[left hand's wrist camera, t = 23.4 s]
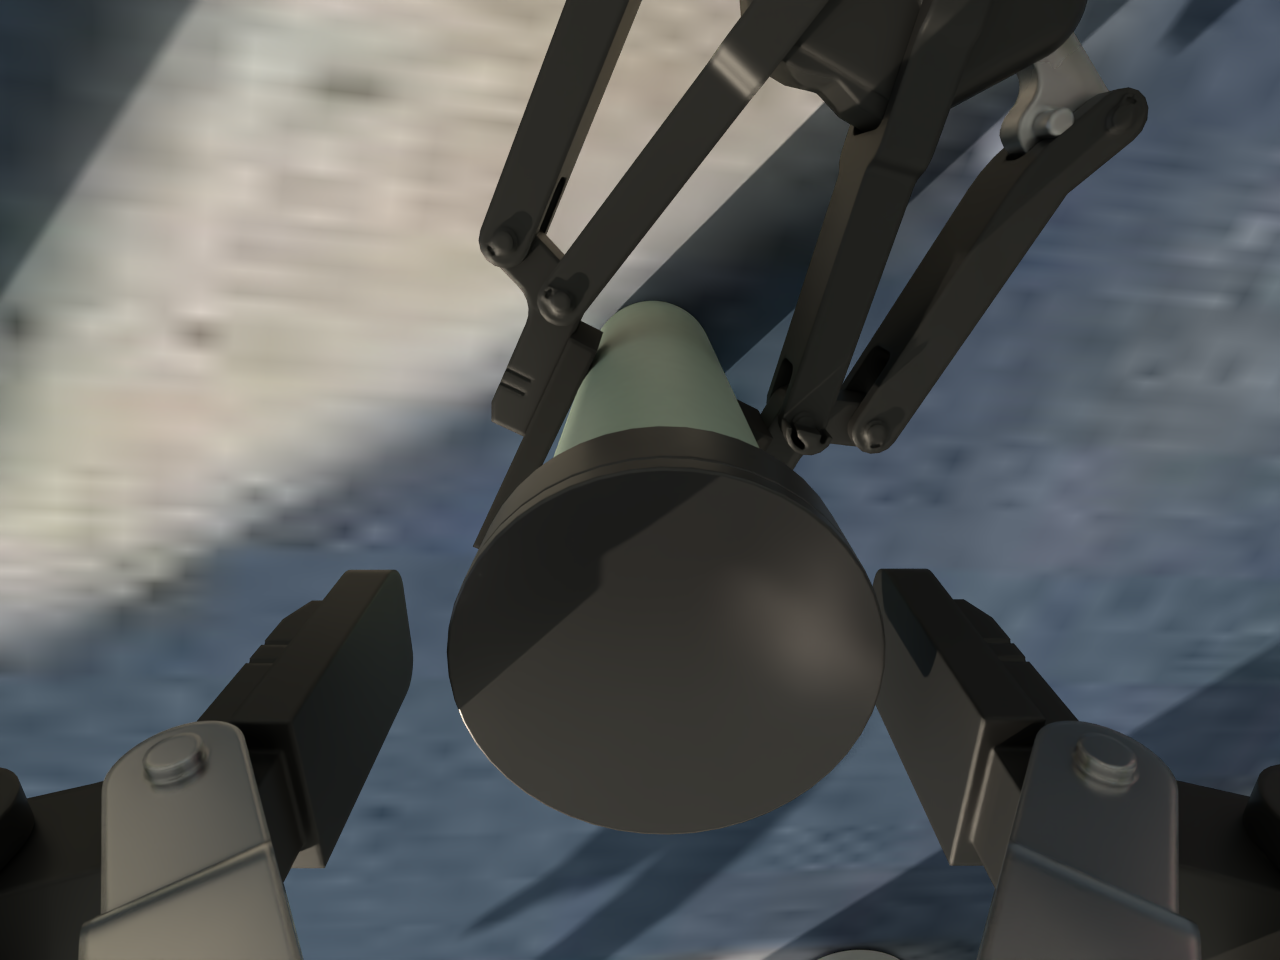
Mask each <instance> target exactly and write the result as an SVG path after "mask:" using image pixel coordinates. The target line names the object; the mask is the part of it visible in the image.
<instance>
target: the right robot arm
mask: <svg viewBox="0 0 1280 960" xmlns="http://www.w3.org/2000/svg"><path fill="white" fill-rule="evenodd" d="M641 1H642V0H566V2H565V5H564V8H563V10H562V13H561V16H560V19H559V21H558V24H557V27H556V29H555V32H554V35H553V37H552V40H551V43H550V45H549V48H548V51H547V53H546V56H545V59H544V61H543V64H542V67H541V69H540V72H539V75H538V77H537V80H536V83H535V85H534V88H533V91H532V93H531V96H530V99H529V101H528V104H527V107H526V110H525V112H524V115H523V118H522V120H521V123H520V126H519V128H518V131H517V134H516V136H515V139H514V142H513V144H512V147H511V150H510V152H509V155H508V158H507V160H506V163H505V166H504V168H503V171H502V174H501V176H500V179H499V182H498V184H497V187H496V190H495V192H494V195H493V198H492V201H491V203H490V206H489V209H488V211H487V214H486V217H485V219H484V222H483V225H482V227H481V230H480V236H479V244H480V249H481V252H482V253H483V255H484V256H485V258H486V259H487V260H488V261H489V262H491V263H492V264H493V265H495V266H498V267H500V268H501V269H502V270H503V271H504V272H505V273H506V274H507V275H508V276H509V277H510V278H511V279H512V280H513V281H514V282H515V283H516V284H517V285H518V286H519V288H520V289H521V290H522V292H523V293H524V295H525V297H526V299H527V303H528V308H529V311H528V319H527V322H526V325H525V327H524V329H523V332H522V334H521V336H520V338H519V341H518V343H517V345H516V348H515V350H514V352H513V354H512V357H511V359H510V361H509V364H508V366H507V369H506V371H505V373H504V375H503V377H502V380H501V382H500V384H499V386H498V389H497V391H496V393H495V396H494V398H493V400H492V422H494V423H496V424H498V425H500V426H503V427H505V428H507V429H509V430H511V431H513V432H515V433H517V434H520V435H522V436H524V437H523V440H522V442H521V444H520V446H519V448H518V450H517V453H516V455H515V457H514V459H513V461H512V463H511V465H510V468H509V470H508V472H507V474H506V476H505V478H504V481H503V483H502V485H501V487H500V489H499V491H498V493H497V496H496V498H495V500H494V502H493V504H492V506H491V509H490V511H489V513H488V515H487V517H486V519H485V521H484V524H483V526H482V528H481V530H480V532H479V534H478V537H477V539H476V541H475V543H474V545H473V547H475V548H478V549H479V548H480V546H481V544H482V542H483V540H484V537H485V535H486V533H487V531H488V529H489V527H490V525H491V523H492V522H493V520H494V518H495V517H496V515H497V513H498V512H499V510H500V508H501V507H502V505H503V504H504V503H505V501H506V500H507V499H508V498H509V497H510V495H511V494H512V493H513V492H514V490H515V489H516V488H517V487H518V486H519V485H520V484H521V483H522V482H523V481H524V480H525V479H526V478H528V477H529V476H530V475H531V474H532V473H533V472H534V471H535V470H536V469H538V468H539V467H541V466H542V465H543V462H544V460H545V458H546V456H547V454H548V452H549V450H550V448H551V446H552V444H553V442H554V440H555V438H556V436H557V433H558V431H559V429H560V427H561V425H562V423H563V421H564V419H565V417H566V415H567V413H568V411H569V409H570V406H571V404H572V402H573V400H574V398H575V396H576V394H577V392H578V389H579V387H580V386H581V384H582V382H583V380H584V377H585V375H586V373H587V371H588V369H589V367H590V365H591V363H592V361H593V359H594V357H595V355H596V353H597V350H598V347H599V344H600V341H601V338H602V335H603V332H602V331H600V330H598V329H596V328H594V327H592V326H590V325H588V324H586V323H584V322H582V321H581V319H582V317H583V315H584V313H585V311H586V310H587V309H588V308H589V306H590V305H591V304H592V302H593V301H594V300H595V299H596V297H597V296H598V295H599V293H600V292H601V291H602V290H603V288H604V287H605V286H606V284H607V283H608V282H609V281H610V279H611V278H612V277H613V276H614V274H615V273H616V272H617V270H618V269H619V268H620V267H621V265H622V264H623V263H624V261H625V260H626V259H627V258H628V256H629V255H630V254H631V252H632V251H633V250H634V249H635V247H636V246H637V245H638V243H639V242H640V241H641V240H642V238H643V237H644V236H645V234H646V233H647V232H648V231H649V229H650V228H651V227H652V225H653V224H654V223H655V222H656V220H657V219H658V218H659V217H660V215H661V214H662V213H663V211H664V210H665V209H666V208H667V206H668V205H669V204H670V202H671V201H672V200H673V199H674V197H675V196H676V195H677V193H678V192H679V191H680V190H681V188H682V187H683V186H684V184H685V183H686V182H687V181H688V179H689V178H690V177H691V175H692V174H693V173H694V172H695V170H696V169H697V168H698V166H699V165H700V164H701V163H702V161H703V160H704V159H705V157H706V156H707V155H708V154H709V152H710V151H711V150H712V149H713V147H714V146H715V145H716V143H717V142H718V141H719V140H720V138H721V137H722V136H723V134H724V133H725V132H726V131H727V129H728V128H729V127H730V125H731V124H732V123H733V122H734V120H735V119H736V118H737V116H738V115H739V114H740V113H741V111H742V110H743V109H744V107H745V106H746V105H747V104H748V102H749V101H750V100H751V99H752V97H753V96H754V95H755V94H756V93H757V91H758V90H759V89H760V88H761V86H762V85H763V84H764V83H765V81H766V80H767V79H768V78H769V76H770V77H771V78H773V79H775V80H776V81H778V82H780V83H782V84H783V85H785V86H789V87H794V88H798V89H802V90H806V91H811V92H814V93H816V94H818V95H819V96H820V97H821V98H822V100H823V101H824V102H825V103H826V104H827V105H828V106H829V107H830V108H831V109H832V110H833V112H834V113H835V114H836V115H837V116H838V117H839V118H841V119H842V120H844V121H846V122H847V123H849V124H850V127H849V130H848V133H847V136H846V139H845V143H844V146H843V149H842V152H841V156H840V161H839V175H838V178H837V182H836V185H835V188H834V191H833V194H832V197H831V200H830V203H829V206H828V209H827V212H826V216H825V219H824V222H823V225H822V228H821V231H820V234H819V237H818V240H817V243H816V246H815V249H814V253H813V256H812V259H811V262H810V265H809V268H808V271H807V274H806V277H805V280H804V283H803V287H802V290H801V293H800V296H799V299H798V302H797V305H796V308H795V311H794V314H793V317H792V320H791V324H790V327H789V330H788V333H787V336H786V339H785V342H784V345H783V348H782V351H781V354H780V358H779V361H778V364H777V367H776V370H775V373H774V376H773V379H772V382H771V385H770V388H769V391H768V395H767V402H766V403H767V404H766V406H765V408H764V410H763V411H762V413H761V414H760V413H759V411H758V410H757V409H755V408H753V407H751V406H749V405H747V404H745V403H743V402H741V401H739V400H737V401H738V403H739V406H740V408H741V410H742V412H743V414H744V416H745V418H746V421H747V423H748V425H749V427H750V429H751V431H752V433H753V436H754V438H755V440H756V442H757V444H758V446H759V448H760V449H762V450H764V451H765V452H767V453H769V454H770V455H772V456H773V457H775V458H777V459H778V460H780V461H782V462H783V463H785V464H786V465H787V466H788V467H789V468H791V469H792V470H793V469H794V467H795V466H796V464H797V463H798V461H799V459H800V458H801V457H802V455H814V454H817V453H820V452H822V451H823V450H824V449H825V448H827V447H828V446H829V444H839V445H848V446H857V447H858V448H859V449H860V450H862V451H863V452H867V453H870V454H872V453H880V452H882V451H884V450H886V449H888V448H889V447H890V446H891V445H892V444H893V443H894V442H895V441H896V439H897V438H898V436H899V435H900V433H901V432H902V430H903V429H904V428H905V426H906V425H907V423H908V422H909V420H910V419H911V418H912V416H913V415H914V413H915V412H916V410H917V409H918V408H919V406H920V405H921V403H922V402H923V400H924V399H925V397H926V396H927V395H928V393H929V392H930V390H931V389H932V387H933V386H934V385H935V383H936V382H937V380H938V379H939V377H940V376H941V374H942V373H943V372H944V370H945V369H946V367H947V366H948V364H949V363H950V362H951V360H952V359H953V357H954V356H955V354H956V353H957V351H958V350H959V349H960V347H961V346H962V344H963V343H964V341H965V340H966V339H967V337H968V336H969V334H970V333H971V331H972V330H973V329H974V327H975V326H976V324H977V323H978V321H979V320H980V318H981V317H982V316H983V314H984V313H985V311H986V310H987V308H988V307H989V306H990V304H991V303H992V301H993V300H994V298H995V297H996V295H997V294H998V293H999V291H1000V290H1001V288H1002V287H1003V285H1004V284H1005V283H1006V281H1007V280H1008V278H1009V277H1010V275H1011V274H1012V273H1013V271H1014V270H1015V268H1016V267H1017V265H1018V264H1019V262H1020V261H1021V260H1022V258H1023V257H1024V255H1025V254H1026V252H1027V251H1028V250H1029V248H1030V247H1031V245H1032V244H1033V242H1034V241H1035V239H1036V238H1037V237H1038V235H1039V234H1040V232H1041V231H1042V229H1043V228H1044V227H1045V225H1046V224H1047V222H1048V221H1049V219H1050V218H1051V216H1052V215H1053V214H1054V212H1055V211H1056V209H1057V208H1058V206H1059V205H1060V204H1061V202H1062V201H1063V199H1064V198H1065V196H1066V195H1067V194H1068V193H1069V192H1070V191H1071V190H1073V189H1074V188H1075V187H1076V186H1078V185H1079V184H1080V183H1081V182H1082V181H1084V180H1085V179H1086V178H1087V177H1089V176H1090V175H1091V174H1092V173H1094V172H1095V171H1096V170H1097V169H1098V168H1100V167H1101V166H1102V165H1103V164H1105V163H1106V162H1107V161H1108V160H1109V159H1111V158H1112V157H1113V156H1114V155H1116V154H1117V153H1118V152H1119V151H1121V150H1122V149H1123V148H1124V147H1125V146H1127V145H1128V144H1129V143H1130V142H1132V141H1133V140H1134V139H1135V138H1136V137H1137V136H1138V134H1139V133H1140V132H1141V131H1142V129H1143V127H1144V125H1145V123H1146V121H1147V116H1148V105H1147V102H1146V98H1145V97H1144V96H1143V95H1142V94H1141V93H1140V92H1139V91H1138V90H1135V89H1132V88H1129V87H1128V88H1122V89H1117V90H1112V91H1109V90H1108V89H1107V88H1106V86H1105V84H1104V82H1103V81H1102V79H1101V77H1100V76H1099V74H1098V72H1097V71H1096V69H1095V67H1094V66H1093V64H1092V62H1091V60H1090V59H1089V57H1088V55H1087V54H1086V52H1085V50H1084V49H1083V47H1082V45H1081V44H1080V42H1079V40H1078V38H1077V37H1076V35H1075V33H1074V30H1075V29H1076V27H1077V25H1078V24H1079V22H1080V20H1081V18H1082V15H1083V13H1084V10H1085V7H1086V3H1087V0H740V9H741V18H740V19H739V20H738V22H737V23H736V24H735V26H734V27H733V28H732V30H731V31H730V32H729V34H728V35H727V36H726V38H725V39H724V41H723V42H722V43H721V45H720V46H719V48H718V49H717V51H716V52H715V53H714V55H713V56H712V58H711V59H710V61H709V62H708V64H707V65H706V66H705V68H704V69H703V70H702V72H701V73H700V74H699V76H698V77H697V78H696V80H695V81H694V82H693V84H692V85H691V86H690V88H689V89H688V90H687V92H686V93H685V94H684V96H683V97H682V98H681V100H680V101H679V102H678V104H677V105H676V106H675V108H674V109H673V110H672V112H671V113H670V115H669V116H668V117H667V119H666V120H665V121H664V123H663V124H662V125H661V127H660V128H659V129H658V131H657V132H656V133H655V135H654V136H653V137H652V139H651V140H650V141H649V143H648V144H647V145H646V147H645V148H644V149H643V151H642V152H641V153H640V155H639V156H638V157H637V159H636V160H635V161H634V163H633V164H632V165H631V167H630V168H629V169H628V171H627V172H626V173H625V175H624V176H623V177H622V179H621V180H620V181H619V183H618V184H617V186H616V187H615V188H614V190H613V191H612V192H611V194H610V195H609V196H608V198H607V199H606V200H605V202H604V203H603V204H602V206H601V207H600V208H599V210H598V211H597V212H596V214H595V215H594V216H593V218H592V219H591V220H590V222H589V223H588V224H587V226H586V227H585V228H584V230H583V231H582V232H581V234H580V235H579V236H578V238H577V239H576V240H575V242H574V243H573V244H572V246H571V247H570V248H569V250H568V251H567V253H566V254H565V255H564V254H563V253H562V252H561V250H560V249H559V248H558V247H557V246H556V245H555V244H554V243H553V242H552V241H551V240H550V239H549V238H548V237H547V236H546V234H547V232H548V229H549V227H550V224H551V222H552V219H553V217H554V215H555V212H556V210H557V207H558V205H559V202H560V200H561V197H562V195H563V193H564V190H565V188H566V185H567V183H568V180H569V178H570V175H571V173H572V170H573V168H574V166H575V163H576V161H577V158H578V156H579V153H580V151H581V148H582V146H583V143H584V141H585V139H586V136H587V134H588V131H589V129H590V126H591V124H592V121H593V119H594V116H595V114H596V112H597V109H598V107H599V104H600V102H601V99H602V97H603V94H604V92H605V89H606V87H607V85H608V82H609V80H610V77H611V75H612V72H613V70H614V67H615V65H616V62H617V60H618V58H619V55H620V53H621V50H622V48H623V45H624V43H625V40H626V38H627V35H628V33H629V31H630V28H631V26H632V23H633V21H634V18H635V16H636V13H637V11H638V9H639V6H640V4H641ZM1014 74H1017V76H1018V79H1019V87H1020V88H1019V94H1018V98H1017V100H1016V102H1015V104H1014V106H1013V107H1012V109H1011V110H1010V111H1009V113H1008V114H1007V115H1006V117H1005V118H1004V121H1003V123H1002V125H1001V129H1000V135H999V136H1000V138H1001V142H1002V144H1003V146H1004V148H1003V149H1002V150H1001V151H1000V152H999V153H998V154H997V155H996V156H995V157H994V158H993V159H992V160H991V161H990V162H989V163H988V164H987V166H986V167H985V168H984V169H983V170H982V171H981V172H980V174H979V175H978V176H977V178H976V179H975V181H974V182H973V183H972V185H971V186H970V188H969V189H968V191H967V192H966V194H965V195H964V197H963V198H962V200H961V201H960V203H959V204H958V206H957V208H956V209H955V211H954V212H953V214H952V215H951V217H950V218H949V220H948V221H947V223H946V225H945V226H944V228H943V229H942V231H941V232H940V234H939V235H938V237H937V239H936V240H935V242H934V243H933V245H932V246H931V248H930V249H929V251H928V252H927V254H926V256H925V257H924V259H923V260H922V262H921V263H920V265H919V266H918V268H917V269H916V271H915V273H914V274H913V276H912V277H911V279H910V280H909V282H908V283H907V285H906V286H905V288H904V290H903V291H902V293H901V294H900V296H899V297H898V299H897V300H896V302H895V304H894V305H893V307H892V308H891V310H890V311H889V313H888V314H887V316H886V317H885V319H884V321H883V322H882V324H881V325H880V327H879V328H878V330H877V331H876V333H875V334H874V336H873V338H872V339H871V341H870V342H869V344H868V345H867V347H866V348H865V350H864V352H863V353H862V355H861V356H860V358H859V359H858V361H857V362H856V364H855V365H854V367H853V369H852V370H851V372H850V373H849V375H848V376H847V378H846V379H845V381H844V378H845V375H846V372H847V370H848V367H849V364H850V361H851V359H852V356H853V353H854V350H855V348H856V345H857V342H858V339H859V337H860V334H861V331H862V328H863V325H864V323H865V320H866V317H867V314H868V312H869V309H870V306H871V303H872V301H873V298H874V295H875V292H876V290H877V287H878V284H879V281H880V279H881V276H882V273H883V270H884V268H885V265H886V262H887V259H888V257H889V254H890V251H891V248H892V245H893V243H894V240H895V237H896V234H897V232H898V229H899V226H900V223H901V221H902V218H903V215H904V212H905V210H906V207H907V204H908V201H909V199H910V196H911V193H912V190H913V188H914V186H915V183H916V182H917V180H918V179H919V177H920V176H921V175H922V174H923V173H924V171H925V170H926V168H927V167H928V165H929V163H930V161H931V159H932V156H933V154H934V151H935V149H936V146H937V143H938V140H939V138H940V135H941V132H942V130H943V127H944V124H945V121H946V119H947V116H948V113H949V110H950V108H952V107H954V106H956V105H958V104H960V103H962V102H963V101H965V100H967V99H969V98H971V97H973V96H975V95H976V94H978V93H980V92H982V91H984V90H986V89H988V88H990V87H991V86H993V85H995V84H997V83H999V82H1001V81H1003V80H1004V79H1006V78H1008V77H1010V76H1012V75H1014ZM843 381H844V382H843ZM842 383H843V384H842Z"/></svg>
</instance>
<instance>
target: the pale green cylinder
mask: <svg viewBox="0 0 1280 960" xmlns="http://www.w3.org/2000/svg"><path fill="white" fill-rule="evenodd" d="M601 331H602V332H603V335H602V338H601V341H600V344H599V347H598V350H597V353H596V355H595V357H594V359H593V361H592V363H591V365H590V367H589V369H588V371H587V373H586V375H585V377H584V380H583V382H582V384H581V386H580V387H579V389H578V392H577V394H576V397H575V399H574V402H573V405H572V408H571V410H570V413H569V416H568V419H567V422H566V424H565V427H564V430H563V433H562V435H561V438H560V441H559V444H558V447H557V449H556V452H555V455H554V457H555V456H556V455H558V454H560V453H562V452H564V451H566V450H568V449H570V448H572V447H574V446H576V445H578V444H580V443H582V442H585V441H588V440H591V439H594V438H596V437H599V436H602V435H605V434H609V433H614V432H618V431H623V430H627V429H632V428H643V427H654V426H671V427H689V428H695V429H701V430H707V431H713V432H717V433H720V434H723V435H727V436H730V437H733V438H737V439H739V440H742V441H744V442H746V443H748V444H751V445H753V446H755V447H758V448H759V446H758V444H757V442H756V440H755V438H754V436H753V433H752V431H751V429H750V427H749V425H748V423H747V421H746V418H745V416H744V414H743V412H742V410H741V408H740V406H739V403H738V401H737V399H736V397H735V395H734V393H733V391H732V388H731V386H730V384H729V382H728V380H727V378H726V376H725V373H724V371H723V369H722V367H721V365H720V363H719V361H718V358H717V356H716V354H715V352H714V350H713V348H712V345H711V343H710V341H709V339H708V337H707V335H706V333H705V331H704V329H703V328H702V326H701V325H700V324H699V322H698V321H697V320H696V319H695V318H694V317H693V316H692V315H691V314H689V313H688V312H687V311H685V310H683V309H682V308H680V307H678V306H676V305H673V304H670V303H667V302H661V301H644V302H638V303H635V304H632V305H629V306H627V307H625V308H623V309H621V310H620V311H618V312H617V313H616V314H614V315H613V316H612V317H611V318H610V319H609V320H608V321H607V322H606V323H605V325H604V326H603V327H602V329H601Z"/></svg>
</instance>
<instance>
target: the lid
mask: <svg viewBox="0 0 1280 960" xmlns="http://www.w3.org/2000/svg"><path fill="white" fill-rule="evenodd" d="M885 647H886V640H885V632H884V624H883V617H882V613H881V610H880V606H879V603H878V599H877V596H876V593H875V591H874V588H873V586H872V584H871V582H870V580H869V578H868V576H867V574H866V571H865V569H864V568H863V566H862V564H861V563H860V561H859V559H858V558H857V556H856V554H855V553H854V551H853V549H852V548H851V546H850V544H849V543H848V541H847V539H846V538H845V536H844V534H843V533H842V531H841V529H840V528H839V526H838V524H837V523H836V521H835V519H834V518H833V516H832V515H831V513H830V512H829V510H828V509H827V507H826V506H825V504H824V503H823V501H822V500H821V498H820V497H819V496H818V495H817V493H816V492H815V491H814V490H813V489H812V488H811V487H810V486H809V485H808V484H807V482H806V481H805V480H804V479H803V478H802V477H800V476H799V475H798V474H797V473H795V472H794V471H793V470H792V469H791V468H789V467H788V466H787V465H786V464H785V463H783V462H782V461H780V460H778V459H777V458H775V457H773V456H772V455H770V454H769V453H767V452H765V451H764V450H762V449H760V448H758V447H755V446H753V445H751V444H748V443H746V442H744V441H742V440H739V439H737V438H733V437H730V436H727V435H723V434H720V433H717V432H713V431H707V430H701V429H695V428H689V427H671V426H654V427H643V428H632V429H627V430H623V431H618V432H614V433H609V434H605V435H602V436H599V437H596V438H594V439H591V440H588V441H585V442H582V443H580V444H578V445H576V446H574V447H572V448H570V449H568V450H566V451H564V452H562V453H560V454H558V455H556V456H555V457H554V458H552V459H551V460H549V461H548V462H546V463H545V464H544V465H542V466H541V467H539V468H538V469H536V470H535V471H534V472H533V473H532V474H531V475H530V476H529V477H528V478H526V479H525V480H524V481H523V482H522V483H521V484H520V485H519V486H518V487H517V488H516V489H515V490H514V492H513V493H512V494H511V495H510V497H509V498H508V499H507V500H506V501H505V503H504V504H503V505H502V507H501V508H500V510H499V512H498V513H497V515H496V517H495V518H494V520H493V522H492V523H491V525H490V527H489V529H488V531H487V533H486V535H485V537H484V540H483V542H482V544H481V546H480V548H479V550H478V552H477V554H476V556H475V558H474V560H473V562H472V564H471V567H470V569H469V571H468V573H467V575H466V577H465V579H464V581H463V584H462V586H461V589H460V591H459V594H458V596H457V598H456V601H455V603H454V607H453V612H452V616H451V620H450V624H449V630H448V643H447V660H448V672H449V679H450V683H451V687H452V691H453V695H454V699H455V702H456V705H457V707H458V710H459V712H460V715H461V717H462V720H463V722H464V724H465V725H466V727H467V729H468V731H469V732H470V734H471V736H472V738H473V739H474V741H475V743H476V744H477V745H478V746H479V748H480V749H481V750H482V752H483V753H484V754H485V755H486V757H487V758H488V759H489V761H490V762H491V763H492V764H493V765H494V766H495V767H496V768H497V769H498V770H499V771H500V772H501V773H502V774H503V775H504V776H505V777H506V778H507V779H509V780H510V781H511V782H513V783H514V784H515V785H516V786H518V787H519V788H520V789H522V790H523V791H524V792H525V793H527V794H529V795H530V796H532V797H533V798H535V799H537V800H538V801H540V802H542V803H543V804H545V805H547V806H549V807H551V808H553V809H555V810H557V811H559V812H561V813H564V814H566V815H568V816H570V817H573V818H576V819H579V820H582V821H585V822H588V823H591V824H593V825H598V826H602V827H606V828H611V829H615V830H620V831H627V832H635V833H643V834H683V833H696V832H702V831H708V830H714V829H720V828H724V827H727V826H731V825H735V824H738V823H742V822H745V821H748V820H751V819H753V818H756V817H758V816H761V815H764V814H766V813H769V812H771V811H773V810H775V809H777V808H779V807H780V806H782V805H784V804H786V803H788V802H790V801H792V800H793V799H795V798H796V797H798V796H799V795H801V794H802V793H804V792H805V791H807V790H809V789H810V788H812V787H813V786H814V785H815V784H816V783H817V782H819V781H820V780H821V779H822V778H823V777H825V776H826V775H827V774H828V773H829V772H831V770H832V769H833V768H834V767H835V766H836V765H837V764H838V763H839V762H840V761H841V760H842V759H843V758H844V756H845V755H846V754H847V753H848V752H849V750H850V749H851V747H852V746H853V745H854V743H855V742H856V740H857V739H858V738H859V736H860V735H861V733H862V731H863V729H864V728H865V726H866V724H867V722H868V720H869V718H870V716H871V714H872V712H873V709H874V706H875V703H876V701H877V698H878V695H879V692H880V688H881V683H882V678H883V673H884V668H885Z"/></svg>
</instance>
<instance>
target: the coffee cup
mask: <svg viewBox="0 0 1280 960" xmlns="http://www.w3.org/2000/svg"><path fill="white" fill-rule="evenodd" d="M818 960H899V959H898V958H896V957H894V956H891V955H889V954H886V953H882V952H878V951H871V950H850V951H843V952H838V953H834V954H830V955H827V956H825V957H822V958H820V959H818Z"/></svg>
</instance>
